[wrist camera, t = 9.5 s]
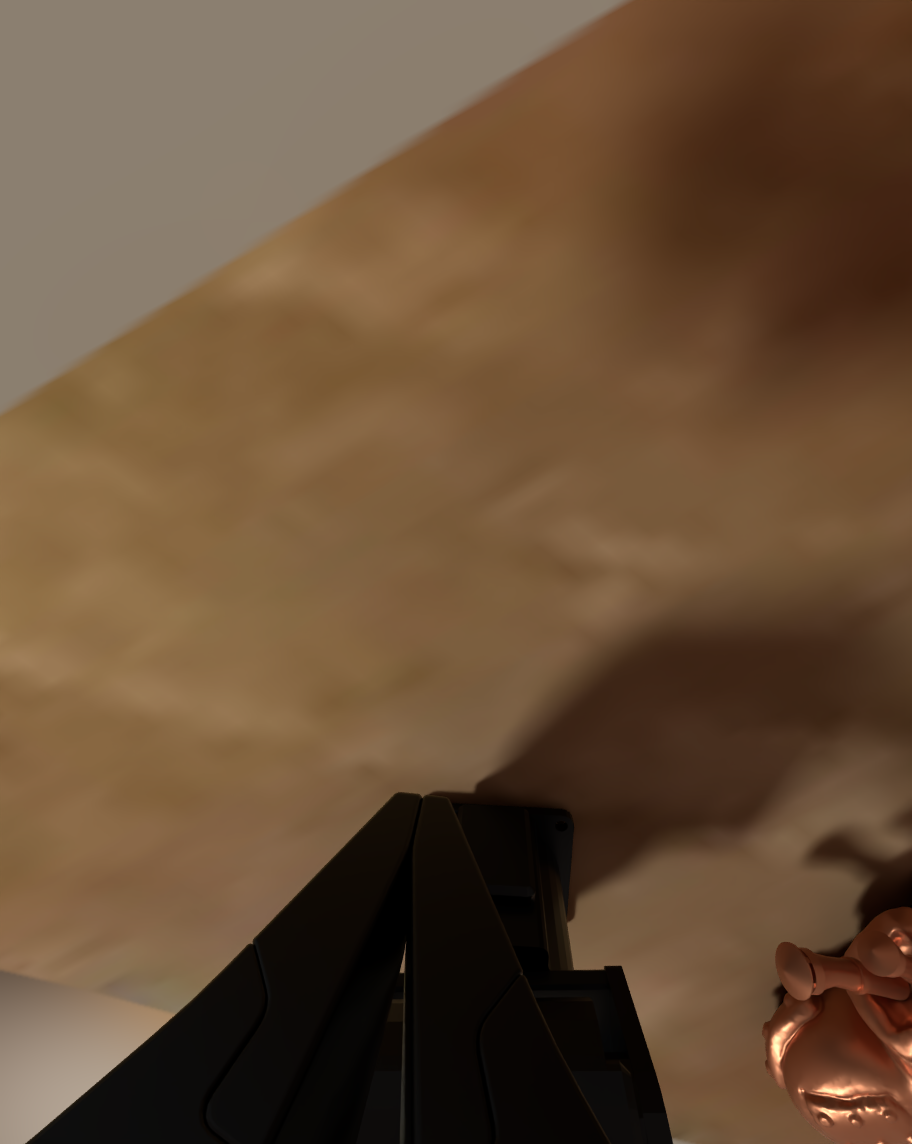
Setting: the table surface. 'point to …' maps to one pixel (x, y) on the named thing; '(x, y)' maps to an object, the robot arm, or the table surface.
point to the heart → (848, 1034)
